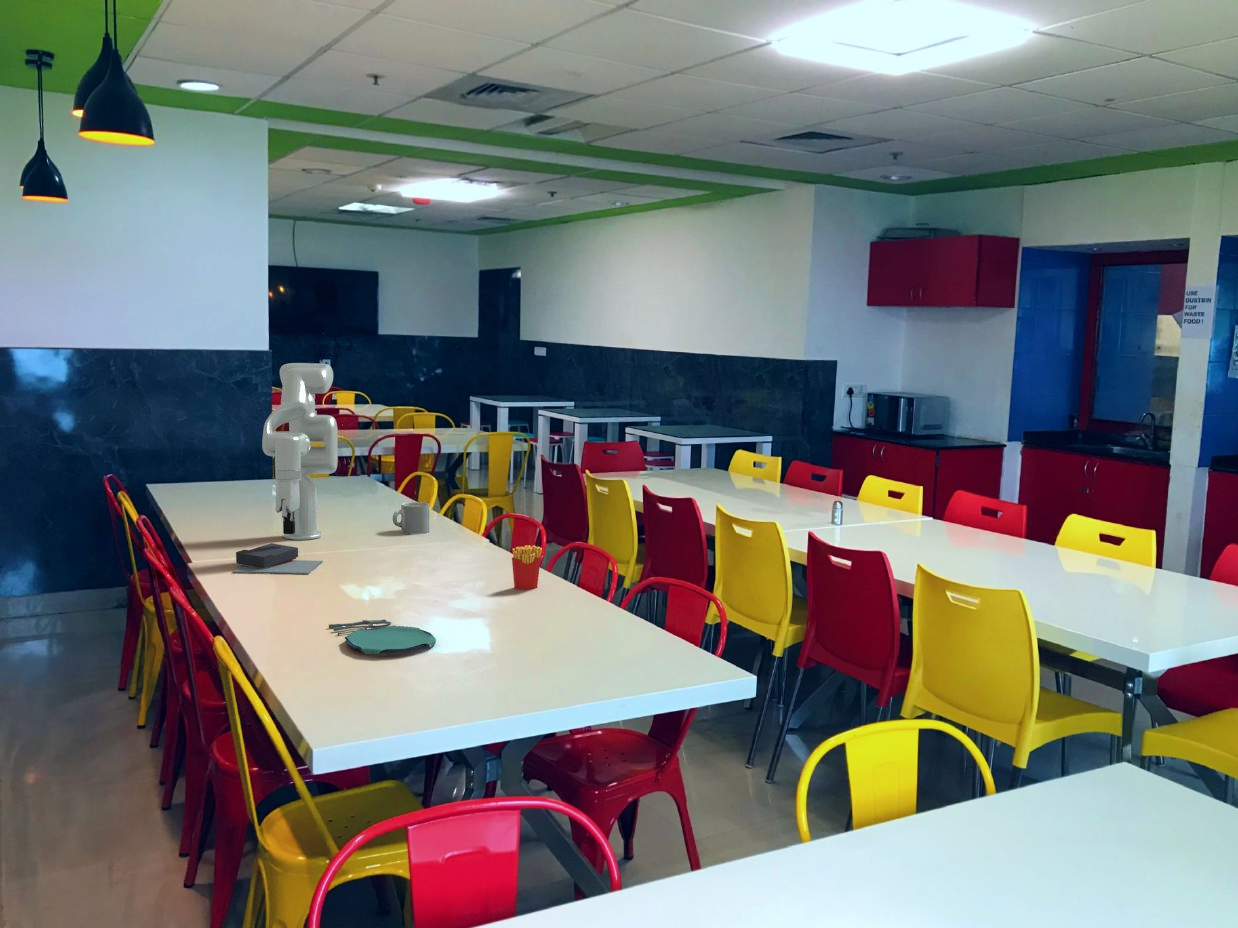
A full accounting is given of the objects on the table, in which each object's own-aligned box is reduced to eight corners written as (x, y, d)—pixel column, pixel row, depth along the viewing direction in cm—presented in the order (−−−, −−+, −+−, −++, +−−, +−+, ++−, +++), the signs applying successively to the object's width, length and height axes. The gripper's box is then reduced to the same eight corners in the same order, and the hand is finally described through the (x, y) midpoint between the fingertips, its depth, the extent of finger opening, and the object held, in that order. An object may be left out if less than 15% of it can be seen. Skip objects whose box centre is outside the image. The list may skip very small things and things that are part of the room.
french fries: (513, 590, 286) (514, 548, 284) (510, 586, 289) (510, 545, 288) (542, 588, 289) (543, 547, 287) (538, 584, 292) (539, 544, 291)
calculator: (272, 554, 318) (235, 565, 305) (271, 541, 317) (235, 552, 304) (299, 559, 314) (263, 571, 300) (298, 545, 313) (262, 557, 299)
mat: (251, 560, 313) (250, 559, 313) (322, 562, 313) (322, 560, 313) (232, 573, 297) (232, 571, 297) (308, 574, 298) (308, 572, 298)
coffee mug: (426, 528, 372) (426, 501, 371) (432, 533, 363) (432, 505, 362) (389, 530, 367) (389, 502, 366) (394, 535, 358) (394, 507, 357)
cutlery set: (363, 663, 220) (363, 653, 220) (319, 631, 244) (319, 621, 244) (447, 651, 231) (448, 641, 231) (397, 621, 256) (397, 612, 255)
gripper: (283, 471, 320) (284, 529, 322) (268, 478, 305) (269, 538, 307) (307, 472, 320) (308, 529, 322) (293, 478, 305) (294, 538, 308)
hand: (289, 533), depth 315 cm, fingers closed
